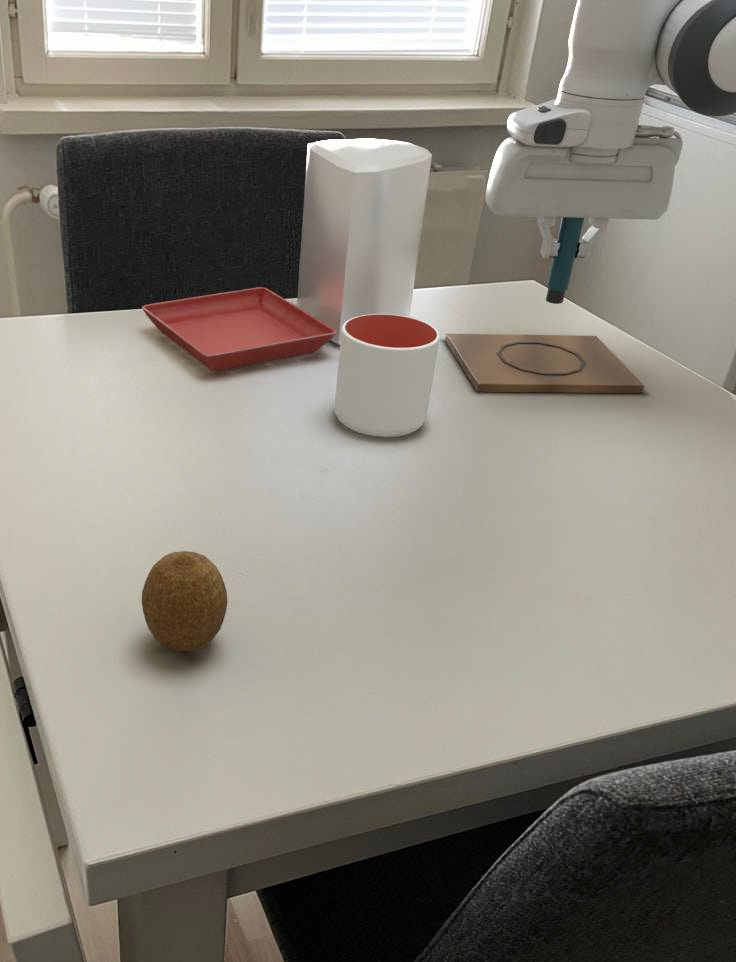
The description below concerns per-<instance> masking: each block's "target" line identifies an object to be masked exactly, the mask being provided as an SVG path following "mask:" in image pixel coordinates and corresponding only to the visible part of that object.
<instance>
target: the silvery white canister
mask: <svg viewBox="0 0 736 962" xmlns="http://www.w3.org/2000/svg"><path fill="white" fill-rule="evenodd" d="M306 151H307V152H306V153H307V154H306V166H305V180H304V181H305V182H304V197H303V211H302V212H303V213H302V224H301V240H300V252H299V253H300V256H299V269H298V272H299V273H298V282H297V297H296V298H297V299H296V306H297V307H298V308H300V309H302V310H303V311H305V312H307V313H308V314H310V315H311V316H313V317H314V318H316V319H318V320H319V321H321V322H323V323H324V324H326V325H327V326H329V327H331V328H332V329H334V330H335V331H336V334H335V335H334V336H333V337H332V338H331V339H330V340H329V341H331V342H333V343H335V344H336V345H340V342H341V332H342V326H343V324H344V323H345V322H346V321H348V320H349V319H352V318H354V317H358V316H362V315H369V314H391V315H400V316H406V317H411V309H412V302H413V296H414V295H413V294H414V289H415V288H414V287H415V281H416V274H417V273H416V272H417V265H418V259H419V251H420V244H421V237H422V229H423V224H424V223H423V222H424V215H425V209H426V200H427V194H428V187H429V179H430V171H431V166H432V159H433V154H432V153H431V152H430V151H429V150H428V149H427V148H425V147H422V146H419V145H417V144H413V143H412V142H406V141H400V140H392V139H390V140H389V139H379V138H378V139H377V138H354V139H352V138H351V139H327V140H320V141H315V142H310V143H307V150H306Z"/></svg>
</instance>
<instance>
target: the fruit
mask: <svg viewBox="0 0 736 962" xmlns="http://www.w3.org/2000/svg"><path fill="white" fill-rule="evenodd" d="M228 601H229V600H228V591H227V588H226V585H225V581H224V579H223V576H222V573H221V572H220V571H219V569H218V567H217V566H216V564H214V563H213V562H212V560H211V559H209V558H208V557H207V556H205V554H202V553H199V552H196V551H188V550H181V551H173V552H170V553H167V554H165V555H163V556H162V557H161V558H160V559H159V560H157V562H155V563H154V564H153V565H152V567H151V569H150V570H149V571H148V574H147V576H146V579H145V582H144V585H143V587H142V591H141V607H142V613H143V618H144V620H145V623H146V626H147V628H148V630H149V632H150V633H151V634H152V635H153V637H154V638H155V640H156V641H157V642H158V643H160V644H161V645H162V646H164V647H166V648H168V649H171V650H173V651H179V652H189V651H190V652H191V651H197V650H199V649H201V648H205V647H206V646H208V645H209V644H210V643H211V642H212V641H213V640H214V639H215V638H216V636H217V635H218V633H219V632H220V631H221V629H222V626H223V623H224V620H225V618H226V613H227V609H228Z"/></svg>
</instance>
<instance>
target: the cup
mask: <svg viewBox="0 0 736 962" xmlns="http://www.w3.org/2000/svg"><path fill="white" fill-rule="evenodd" d="M440 338H441V336H440V333H439V331H438V330H437V328H435V327H434V326H433V325H431V324H429V323H427V322H425V321H423V320H420V319H417V318H414V317H411V316H409V317H406V316H400V315H391V314H369V315H362V316H358V317H354V318H352V319H349V320H348V321H346V322H345V323H344V324H343V326H342V332H341V342H340V344H339V354H338V362H337V363H338V364H337V375H336V384H335V394H334V403H333V407H334V408H333V409H334V413H335V416H336V418H337V419H338V421H339V422H340V423H341V424H342V425H344V426H345V427H346V428H348V429H350V430H352V431H353V432H355V433H359V434H362V435H366V436H371V437H375V438H376V437H378V438H395V437H396V438H397V437H402V436H406V435H409V434H413V433H414V432H416V431H417V430H419V429H420V428H421V427H422V426H423V425H424V423H425V422H426V420H427V417H428V413H429V407H430V400H431V394H432V388H433V382H434V376H435V369H436V364H437V357H438V351H439V344H440V340H441V339H440Z"/></svg>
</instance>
